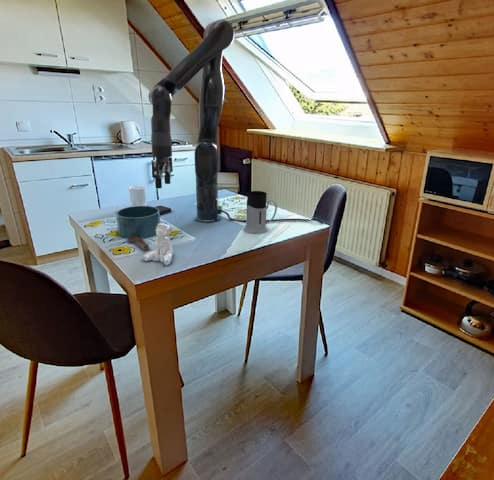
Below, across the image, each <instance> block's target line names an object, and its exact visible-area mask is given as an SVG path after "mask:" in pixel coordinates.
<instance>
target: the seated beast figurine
mask: <svg viewBox="0 0 494 480" xmlns="http://www.w3.org/2000/svg"><path fill="white" fill-rule="evenodd" d="M173 229H174V228H173V227H170V226H169V225H168V224H167V223H164V222H160V223H159V224H158V225H157V227H156V235H155V236H156V237H155V241H154V242H153V245H154V246H155V249H154V250H152V251H148V252H146V253H145V254H144V255H143V260H144V261H145V262H151V261H155V262H156V261H157V262H161V263H163V264H164V265H165V266H168V265H170V264H171V263H172V258H173V255H174V248H173V246H172V244H171V239H170V238H169V237H168V236H170V233H171V232H173Z"/></svg>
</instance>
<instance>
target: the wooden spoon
mask: <svg viewBox="0 0 494 480" xmlns="http://www.w3.org/2000/svg"><path fill="white" fill-rule="evenodd" d="M127 241H128V243H130V244H135V245H136V246H137V247H139V248H140V249H141V250H143V251H144V252H147V251H150V249H149V247H150V246H149V244H148V243H147V242H145V241H144V240H143V239H142V238H140V236H131V237H129V238H127Z"/></svg>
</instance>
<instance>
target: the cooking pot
mask: <svg viewBox="0 0 494 480" xmlns="http://www.w3.org/2000/svg"><path fill="white" fill-rule="evenodd" d="M155 207H156V206H150V205H146V206H133V207H132V206H127V207H123V208H120V209H119V210H117V211H116V214H115V216H116V224H117V226H116V227H117V233H118V235H119V236H120V237H123V238H126V239H128V238H129V237H131V236H140V238H141V239H145V238H150V237H154V236H157V235H156V227H157V225H158V224H159V223H161V215H160V212H159V209H158V208H155Z"/></svg>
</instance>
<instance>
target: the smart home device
mask: <svg viewBox="0 0 494 480" xmlns="http://www.w3.org/2000/svg"><path fill="white" fill-rule="evenodd" d="M154 207H155V208H158V209H159V212H160V216H161V215H162V216H163V215H165V214H169V213H172V208H171V207H168V206H164V205H156V206H154Z"/></svg>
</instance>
